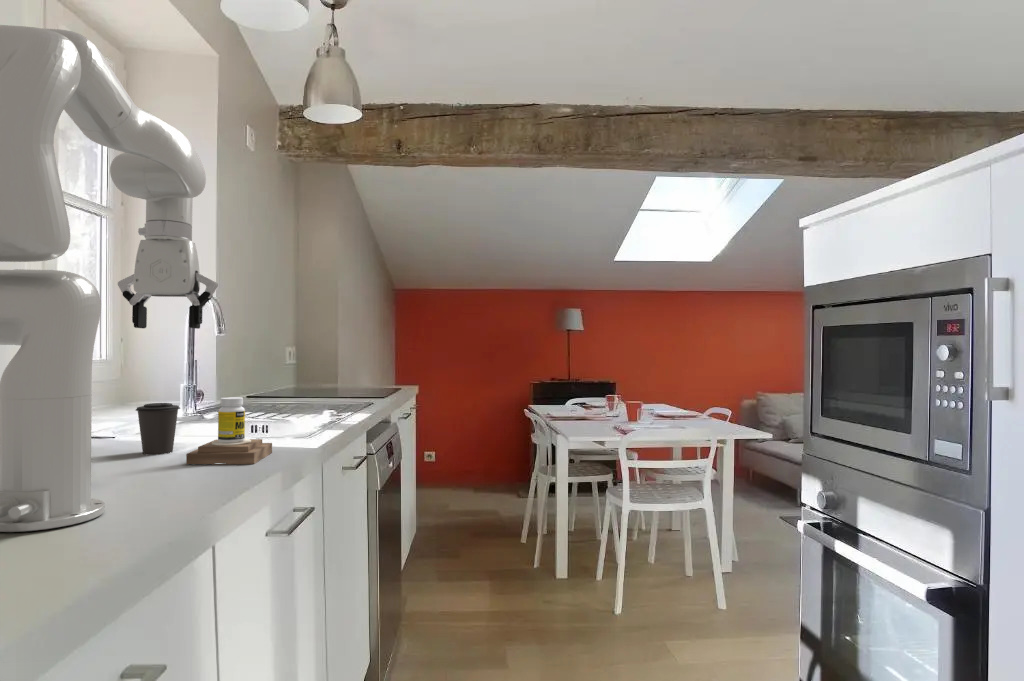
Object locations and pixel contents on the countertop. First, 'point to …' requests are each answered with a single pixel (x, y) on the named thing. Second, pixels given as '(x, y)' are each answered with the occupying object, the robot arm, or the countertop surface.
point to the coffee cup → (157, 427)
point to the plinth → (230, 452)
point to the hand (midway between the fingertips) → (167, 328)
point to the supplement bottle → (231, 420)
